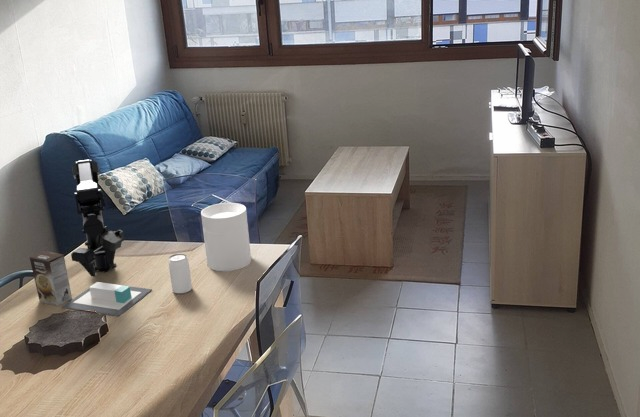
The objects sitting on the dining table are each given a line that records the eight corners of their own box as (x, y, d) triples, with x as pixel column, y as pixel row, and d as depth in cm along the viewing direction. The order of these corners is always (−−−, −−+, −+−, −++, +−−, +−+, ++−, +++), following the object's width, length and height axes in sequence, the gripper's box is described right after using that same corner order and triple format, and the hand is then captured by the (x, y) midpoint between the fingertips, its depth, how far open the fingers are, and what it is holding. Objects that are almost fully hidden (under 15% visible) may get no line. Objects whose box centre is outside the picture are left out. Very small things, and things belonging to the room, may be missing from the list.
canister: (199, 269, 227) (192, 217, 221) (218, 251, 242) (213, 201, 235) (240, 273, 223) (235, 219, 216) (257, 254, 237) (253, 203, 230)
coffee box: (38, 301, 210) (28, 257, 205) (54, 293, 216) (44, 249, 210) (57, 306, 206) (47, 261, 201) (73, 298, 212) (64, 253, 206)
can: (190, 293, 210) (185, 260, 206) (170, 294, 210) (165, 261, 206) (194, 285, 216) (189, 252, 212) (175, 285, 216) (170, 253, 212)
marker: (91, 298, 209) (89, 287, 208) (99, 292, 213) (97, 281, 211) (124, 303, 205) (122, 292, 203) (131, 297, 208) (129, 286, 207)
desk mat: (62, 307, 205) (61, 306, 205) (98, 283, 221) (97, 281, 221) (118, 316, 198) (118, 314, 198) (151, 290, 214) (151, 288, 213)
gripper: (95, 238, 190) (104, 286, 195) (133, 217, 206) (140, 261, 211) (65, 235, 193) (75, 282, 199) (105, 214, 210) (112, 257, 215)
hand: (102, 270), depth 206 cm, fingers open, 9 cm apart
